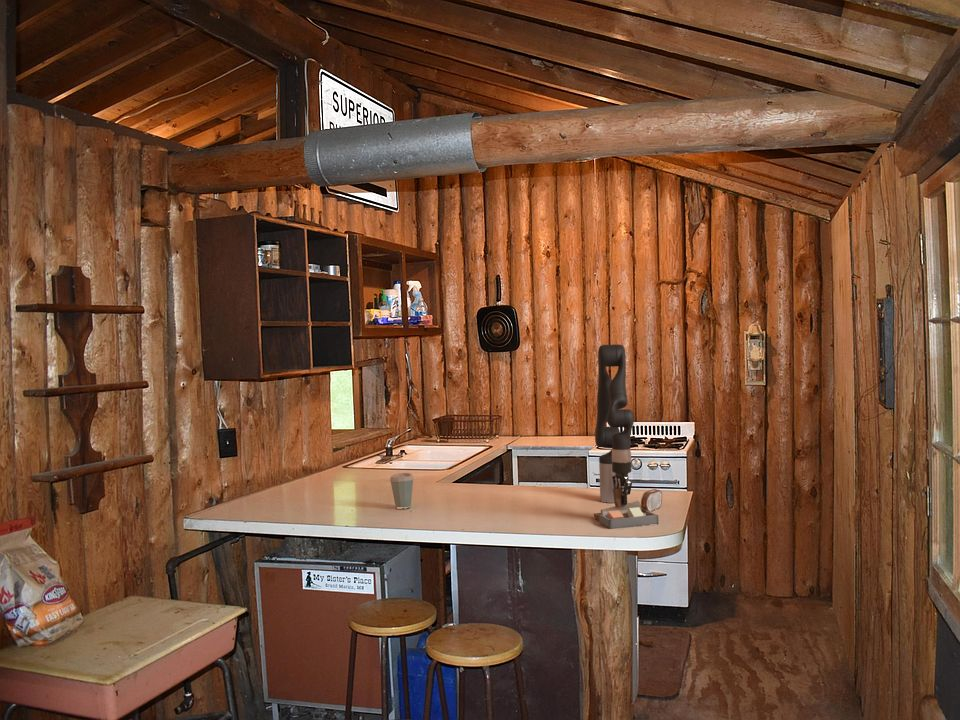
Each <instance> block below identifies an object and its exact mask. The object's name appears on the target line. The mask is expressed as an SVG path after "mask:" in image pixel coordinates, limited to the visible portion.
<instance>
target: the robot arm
mask: <svg viewBox="0 0 960 720" xmlns="http://www.w3.org/2000/svg"><path fill="white" fill-rule="evenodd" d="M626 358H627V357H626V350H625V347H624V345H622V344H601V345H599V347H598V351H597V362H598V363H597V365H598V366H597V369H598V370H597V371H598V372H597V373H598V378H597V379H598V383H597V395H596V397H597V398H596V404H597V405H596V410H597V411H596V412H597V413H596V422H595V423H596V424H595V431H594V433H595V434H594V441H595V445H596V447H598V448H611V450H609V451H608V452H606V453H604V454H602V455H600V456H599V457H598V462H599V463H598V468H599V495H600V496H599V500H600V501H599V502H602V503H606V502H607V503H610V504H615V503H614V495H613V488H618V487H619V488H620V490H621V504H622V505H627V503H628V496H630V495H631V492H632V491H631V490H632V485H633V481H631V480H629V479H630V478H629V474H630V473H632V451H631V435H632V429H633V426H634V423H635V413H634V412H633V410H632V409H630V408H629V409H627V408H626V406H627V405H628V395H627V387H626V382H627V381H626V379H627V378H626V377H627V376H626V375H627V366H626V365H627V361H626ZM609 367H610V368H611V367H613V368H614V367H617V372H616V374H615V375H614V377H613V379H612V378H611V376H610V374H609V372H608V370H607V368H609ZM606 423H607V425H608V426H605V425H606ZM620 428H624V429H623V430H622V431H620Z"/></svg>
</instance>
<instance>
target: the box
mask: <svg viewBox="0 0 960 720" xmlns="http://www.w3.org/2000/svg"><path fill="white" fill-rule="evenodd" d="M650 524H657V525H659V515H658V514H656V513H654V512H653V511H651V512H649V511H645V515H644V516H639V517H628V518H617V519H609V518H607V517H605V516H603V515H600V521H599V525H601V526H604V528H606V529H609V530H612V529H613V530H615V529H622V528H635V527H634V526H636V527H643V526H642V525H646V526H651V525H650Z"/></svg>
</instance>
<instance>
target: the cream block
mask: <svg viewBox="0 0 960 720" xmlns="http://www.w3.org/2000/svg"><path fill="white" fill-rule="evenodd" d="M627 515H628V516H629V517H639V516H645V515H644V513H643V510H642V509H640V508H639V507H636V508H629V510H628V512H627Z"/></svg>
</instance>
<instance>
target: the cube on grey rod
mask: <svg viewBox="0 0 960 720" xmlns="http://www.w3.org/2000/svg"><path fill="white" fill-rule="evenodd" d="M613 495H614V502H615V503H614V506H610V507H607V508H603V509H600V513H601V515H603V516H605V517H608V511H617V510H619V511H620V512H621V514H624V513H627V512H628V510H629V508H636V507H639V508H640V510H642V508H641V501H639V500H635V501H632V502H627V505H622V504H621V490H620V488H619V487H618V488H613Z"/></svg>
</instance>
